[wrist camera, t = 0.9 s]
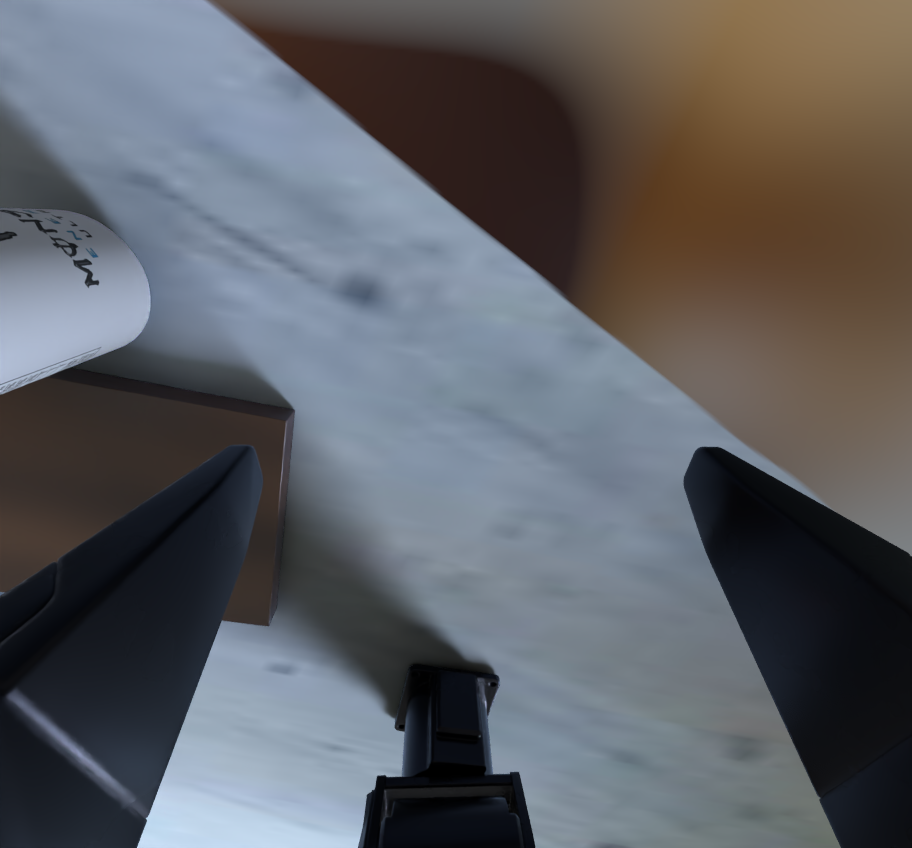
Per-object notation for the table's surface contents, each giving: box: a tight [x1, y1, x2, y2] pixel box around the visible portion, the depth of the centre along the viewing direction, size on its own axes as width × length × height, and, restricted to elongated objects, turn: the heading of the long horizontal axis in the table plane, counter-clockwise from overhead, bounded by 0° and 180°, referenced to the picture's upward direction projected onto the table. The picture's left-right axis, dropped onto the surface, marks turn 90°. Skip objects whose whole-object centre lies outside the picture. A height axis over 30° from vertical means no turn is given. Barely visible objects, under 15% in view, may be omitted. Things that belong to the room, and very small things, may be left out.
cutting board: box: [0, 368, 295, 626], centre depth 25 cm, size 14×20×2 cm
